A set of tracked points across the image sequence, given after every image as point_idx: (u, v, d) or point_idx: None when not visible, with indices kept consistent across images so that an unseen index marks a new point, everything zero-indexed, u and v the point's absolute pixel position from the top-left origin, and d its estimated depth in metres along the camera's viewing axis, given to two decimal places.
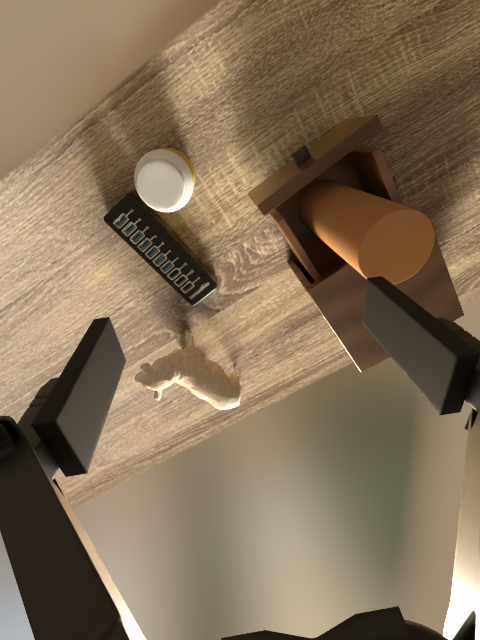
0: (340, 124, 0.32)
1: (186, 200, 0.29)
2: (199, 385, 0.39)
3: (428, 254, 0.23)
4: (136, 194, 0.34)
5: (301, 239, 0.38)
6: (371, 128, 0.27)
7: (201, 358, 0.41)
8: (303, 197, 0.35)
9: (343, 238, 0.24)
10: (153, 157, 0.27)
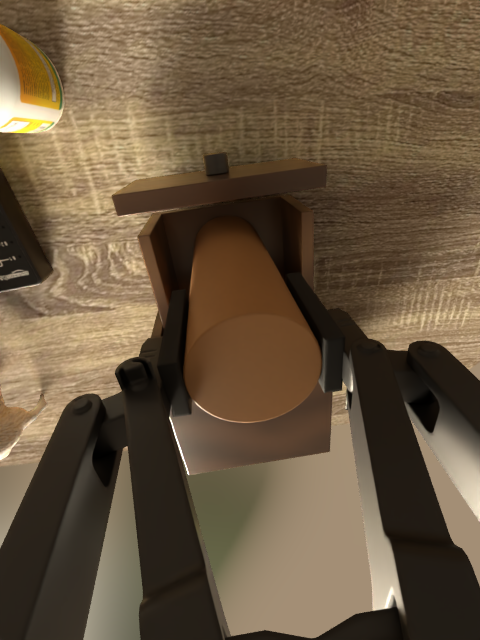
0: (286, 160, 0.23)
1: None
2: None
3: (301, 400, 0.14)
4: None
5: (185, 276, 0.27)
6: (312, 178, 0.18)
7: None
8: (205, 225, 0.24)
9: (192, 312, 0.14)
10: None
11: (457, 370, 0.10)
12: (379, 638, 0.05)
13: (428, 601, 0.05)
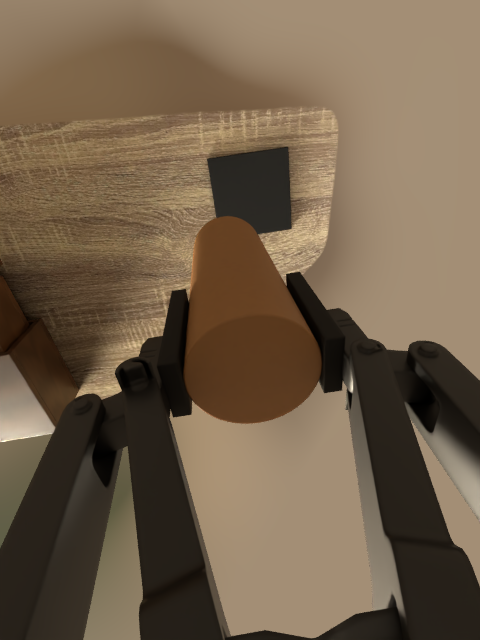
0: None
1: None
2: None
3: (300, 401, 0.14)
4: None
5: None
6: None
7: None
8: (205, 225, 0.24)
9: (192, 313, 0.14)
10: None
11: (457, 370, 0.10)
12: (379, 638, 0.05)
13: (428, 601, 0.05)
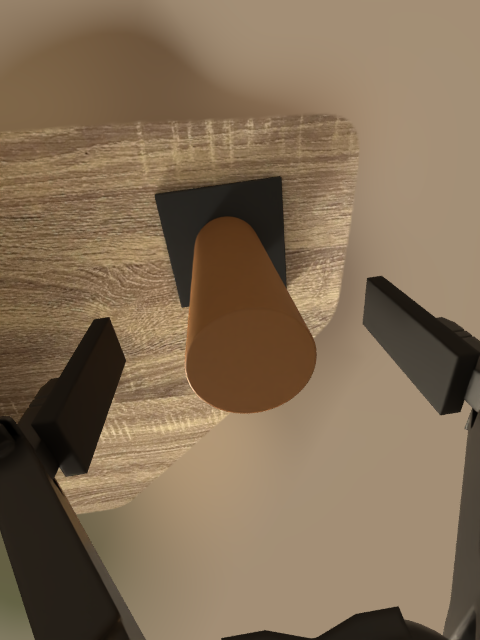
0: None
1: None
2: None
3: (296, 392, 0.14)
4: None
5: None
6: None
7: None
8: (205, 225, 0.25)
9: (193, 308, 0.15)
10: None
11: None
12: (379, 638, 0.05)
13: None
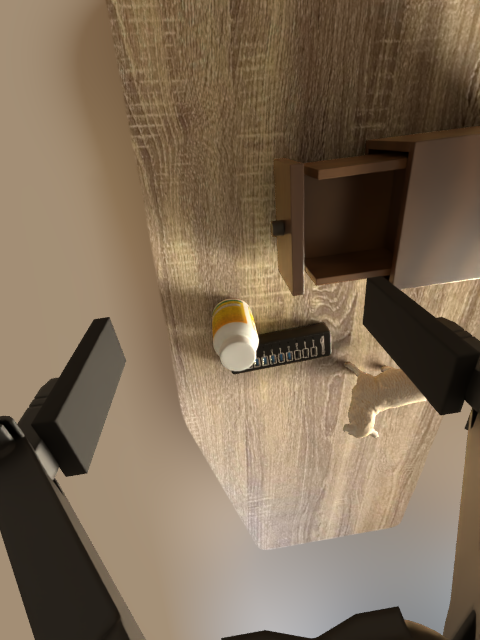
0: (275, 170, 0.32)
1: (256, 337, 0.36)
2: (394, 402, 0.42)
3: None
4: None
5: (344, 246, 0.37)
6: (297, 174, 0.27)
7: (375, 380, 0.44)
8: None
9: None
10: (218, 344, 0.36)
11: None
12: (379, 638, 0.05)
13: None
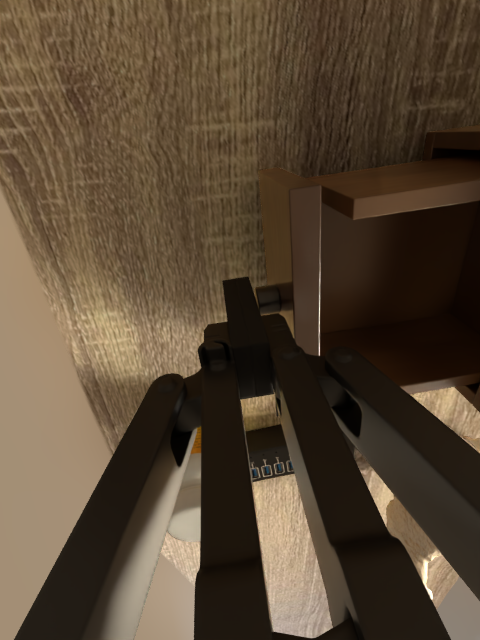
0: (262, 191, 0.17)
1: None
2: None
3: None
4: None
5: (384, 314, 0.22)
6: (306, 211, 0.12)
7: None
8: None
9: None
10: None
11: (370, 372, 0.10)
12: None
13: (379, 606, 0.05)
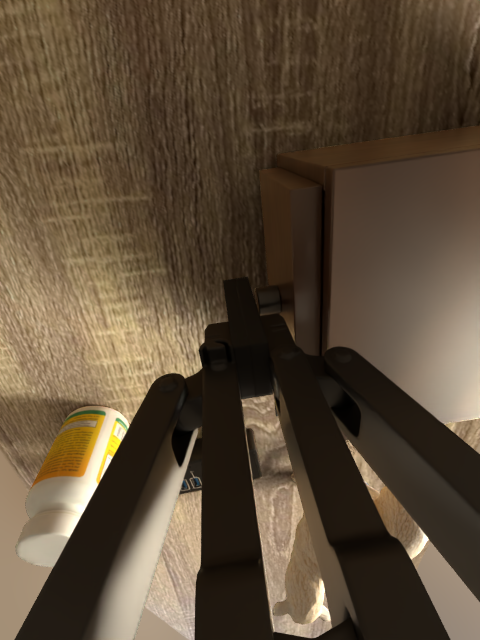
0: (263, 191, 0.17)
1: None
2: None
3: None
4: None
5: None
6: (307, 212, 0.12)
7: None
8: None
9: None
10: (29, 515, 0.20)
11: (369, 372, 0.10)
12: None
13: (378, 606, 0.05)
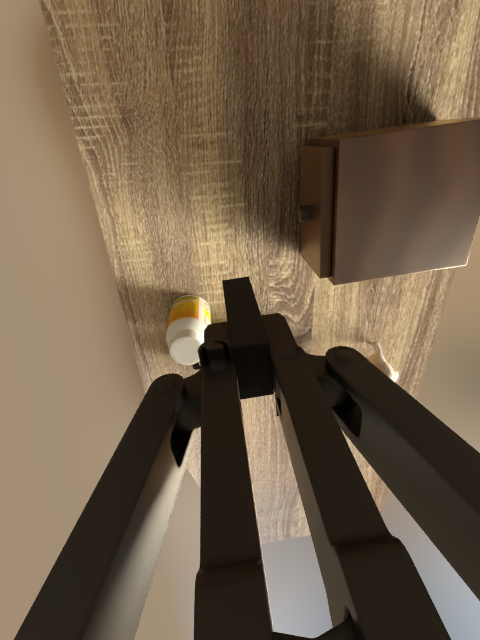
0: (302, 156, 0.33)
1: None
2: None
3: None
4: None
5: None
6: (328, 158, 0.28)
7: None
8: None
9: None
10: (169, 338, 0.36)
11: (371, 372, 0.10)
12: None
13: (379, 606, 0.05)
